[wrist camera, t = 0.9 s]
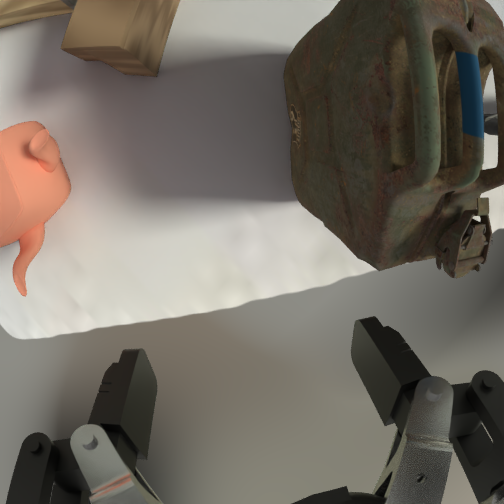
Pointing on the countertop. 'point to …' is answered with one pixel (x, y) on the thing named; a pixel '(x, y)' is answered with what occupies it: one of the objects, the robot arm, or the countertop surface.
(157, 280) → the countertop surface
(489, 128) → the gun
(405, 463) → the robot arm
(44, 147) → the pot
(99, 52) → the slotted wooden stand
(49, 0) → the rail
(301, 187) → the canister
